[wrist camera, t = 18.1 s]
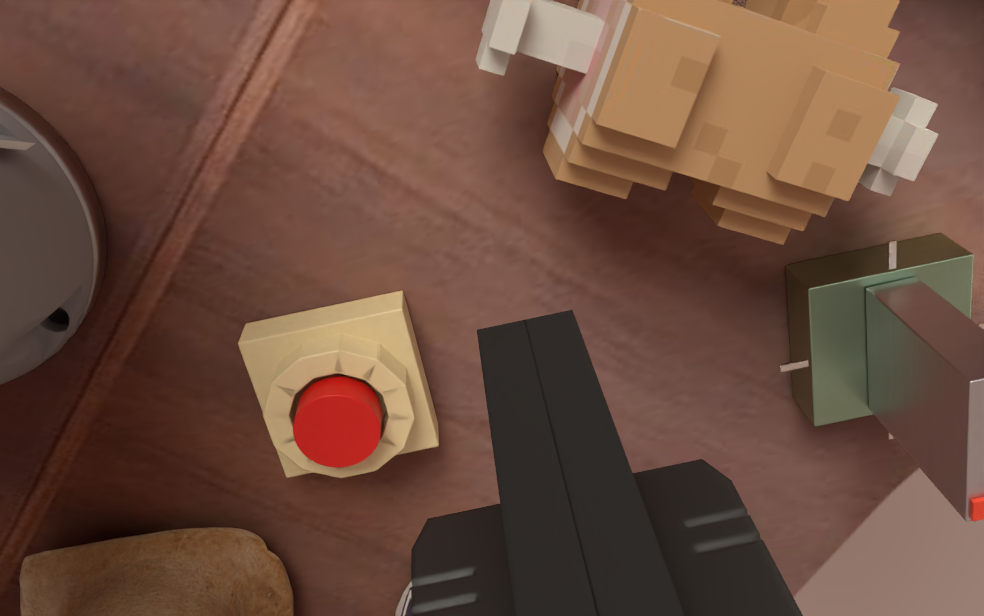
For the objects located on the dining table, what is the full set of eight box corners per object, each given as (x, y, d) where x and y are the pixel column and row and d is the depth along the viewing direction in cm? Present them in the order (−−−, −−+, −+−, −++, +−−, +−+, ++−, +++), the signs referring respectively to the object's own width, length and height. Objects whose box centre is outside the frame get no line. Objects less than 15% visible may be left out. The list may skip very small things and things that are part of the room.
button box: (291, 453, 48) (281, 500, 44) (245, 323, 44) (229, 361, 41) (438, 423, 48) (440, 467, 44) (403, 289, 44) (401, 325, 41)
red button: (310, 454, 44) (306, 475, 42) (286, 385, 42) (281, 405, 40) (390, 437, 44) (389, 458, 42) (370, 367, 42) (368, 386, 40)
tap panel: (764, 427, 49) (786, 460, 47) (751, 242, 45) (774, 266, 42) (965, 386, 49) (998, 416, 46) (973, 195, 44) (1011, 217, 42)
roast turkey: (802, 214, 44) (902, 299, 35) (450, 108, 40) (460, 173, 31) (900, 10, 40) (1041, 46, 31) (520, -127, 36) (554, -130, 27)
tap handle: (864, 287, 43) (973, 385, 34) (916, 275, 43) (1038, 371, 34) (868, 409, 46) (969, 526, 37) (916, 398, 46) (1028, 513, 37)
